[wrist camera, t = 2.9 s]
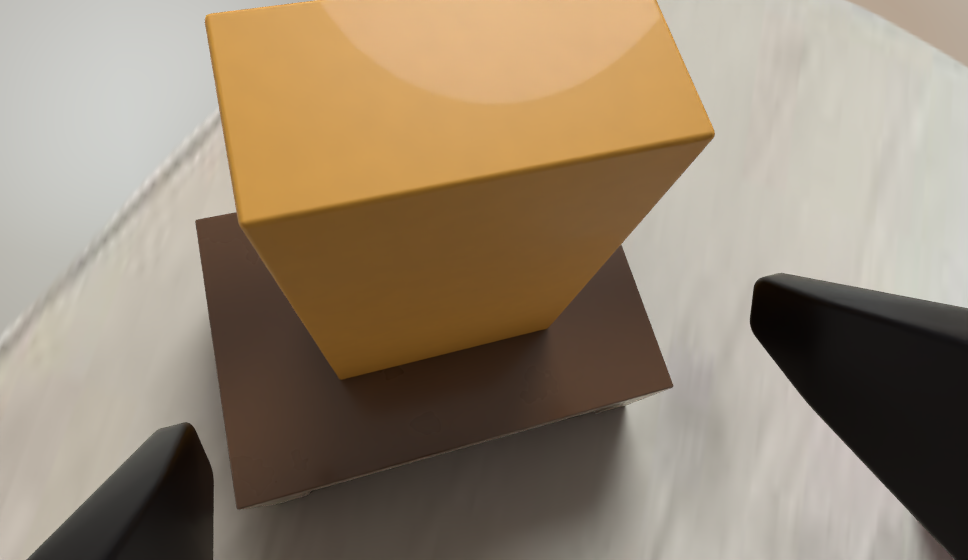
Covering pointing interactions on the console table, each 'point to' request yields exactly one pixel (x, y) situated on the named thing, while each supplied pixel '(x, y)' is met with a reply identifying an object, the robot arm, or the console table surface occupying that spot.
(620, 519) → the console table surface
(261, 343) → the shelf
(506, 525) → the console table surface
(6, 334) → the console table surface
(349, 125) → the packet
